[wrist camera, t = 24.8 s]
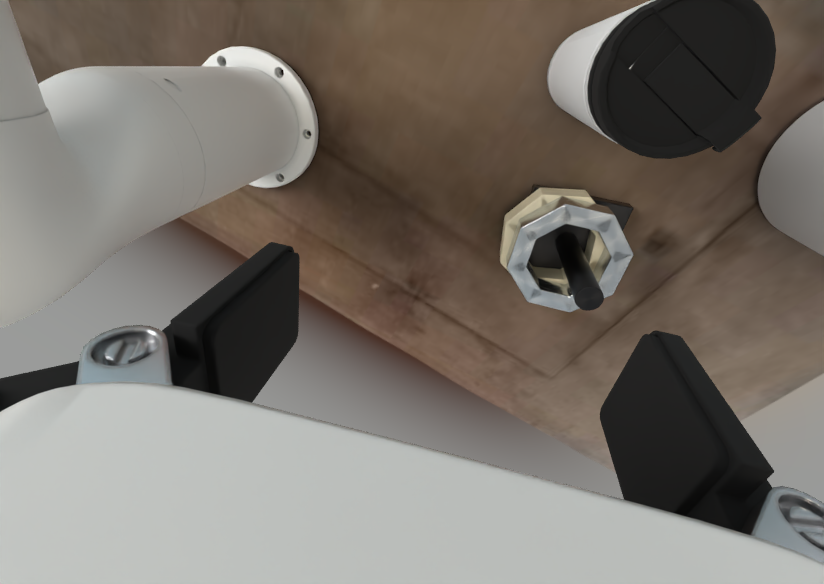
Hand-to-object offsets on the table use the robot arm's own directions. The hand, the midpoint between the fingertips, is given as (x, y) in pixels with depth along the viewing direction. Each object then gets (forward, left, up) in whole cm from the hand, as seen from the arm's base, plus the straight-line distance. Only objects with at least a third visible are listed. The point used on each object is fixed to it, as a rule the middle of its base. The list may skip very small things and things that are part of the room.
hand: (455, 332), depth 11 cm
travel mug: (+7, +7, -31) cm, 32 cm away
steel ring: (+9, -7, -27) cm, 29 cm away
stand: (+10, -7, -30) cm, 33 cm away
